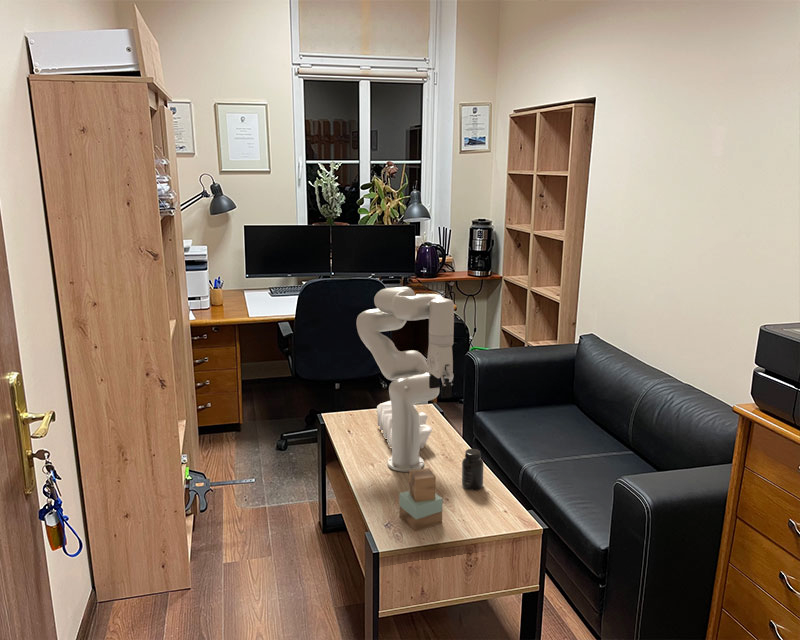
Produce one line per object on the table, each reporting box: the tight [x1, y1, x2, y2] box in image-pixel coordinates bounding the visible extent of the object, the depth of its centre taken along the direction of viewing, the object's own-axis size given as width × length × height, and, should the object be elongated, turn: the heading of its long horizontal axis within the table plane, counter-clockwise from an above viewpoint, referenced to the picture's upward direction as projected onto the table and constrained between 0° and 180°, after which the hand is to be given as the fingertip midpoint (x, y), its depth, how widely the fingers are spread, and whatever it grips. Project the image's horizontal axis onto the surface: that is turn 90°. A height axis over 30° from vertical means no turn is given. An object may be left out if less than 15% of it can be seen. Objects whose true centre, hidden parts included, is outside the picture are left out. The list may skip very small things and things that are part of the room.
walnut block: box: [408, 467, 437, 502], centre depth 187 cm, size 6×6×7 cm
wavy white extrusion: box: [376, 400, 433, 449], centre depth 250 cm, size 35×16×11 cm, turn 11°
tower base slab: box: [399, 506, 443, 532], centre depth 190 cm, size 9×9×4 cm
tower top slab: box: [398, 490, 444, 519], centre depth 189 cm, size 9×9×4 cm
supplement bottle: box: [461, 448, 484, 491], centre depth 209 cm, size 7×7×12 cm
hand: (440, 392), depth 202 cm, fingers open, 9 cm apart
